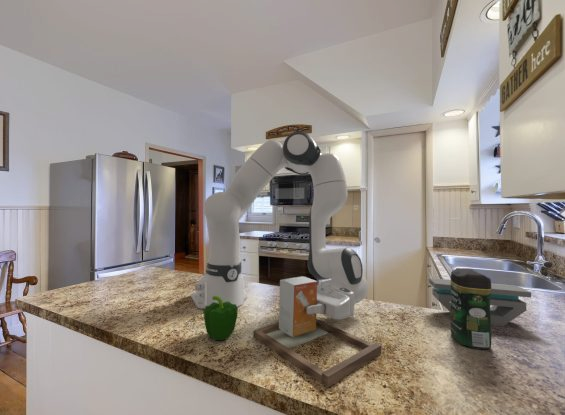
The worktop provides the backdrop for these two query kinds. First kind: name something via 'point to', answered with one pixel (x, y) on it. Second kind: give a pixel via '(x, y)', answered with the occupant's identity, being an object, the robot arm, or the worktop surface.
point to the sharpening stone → (501, 298)
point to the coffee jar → (471, 308)
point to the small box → (297, 305)
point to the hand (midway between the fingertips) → (295, 306)
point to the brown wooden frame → (285, 342)
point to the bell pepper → (220, 319)
